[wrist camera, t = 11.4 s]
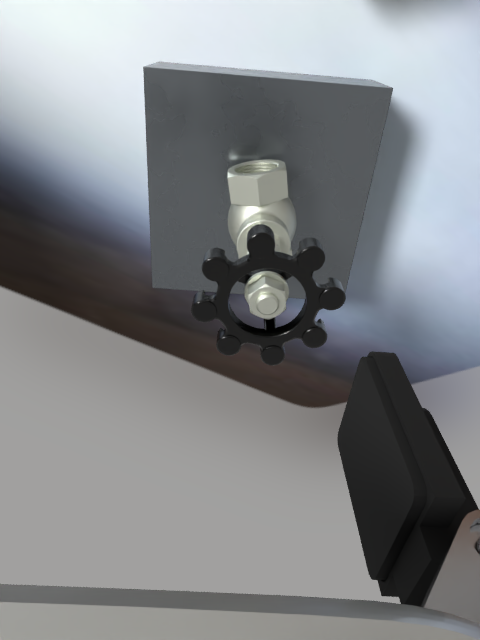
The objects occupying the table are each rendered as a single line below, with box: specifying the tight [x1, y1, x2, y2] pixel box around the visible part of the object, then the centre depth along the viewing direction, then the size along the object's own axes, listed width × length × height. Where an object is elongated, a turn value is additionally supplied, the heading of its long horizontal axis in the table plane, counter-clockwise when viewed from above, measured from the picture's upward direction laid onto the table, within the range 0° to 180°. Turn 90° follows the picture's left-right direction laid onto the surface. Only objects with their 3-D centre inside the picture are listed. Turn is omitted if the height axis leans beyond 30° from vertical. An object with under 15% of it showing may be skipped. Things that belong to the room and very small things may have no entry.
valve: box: [191, 159, 346, 365], centre depth 24 cm, size 7×7×12 cm
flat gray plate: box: [143, 62, 393, 299], centre depth 30 cm, size 14×14×5 cm
